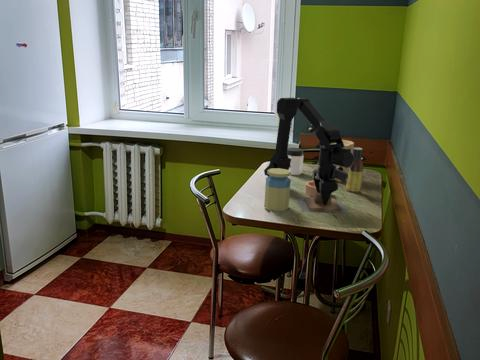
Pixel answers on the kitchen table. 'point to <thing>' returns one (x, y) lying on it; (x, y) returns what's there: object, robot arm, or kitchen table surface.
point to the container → (350, 145)
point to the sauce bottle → (355, 172)
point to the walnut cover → (321, 203)
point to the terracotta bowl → (310, 188)
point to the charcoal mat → (305, 208)
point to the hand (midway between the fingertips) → (322, 200)
